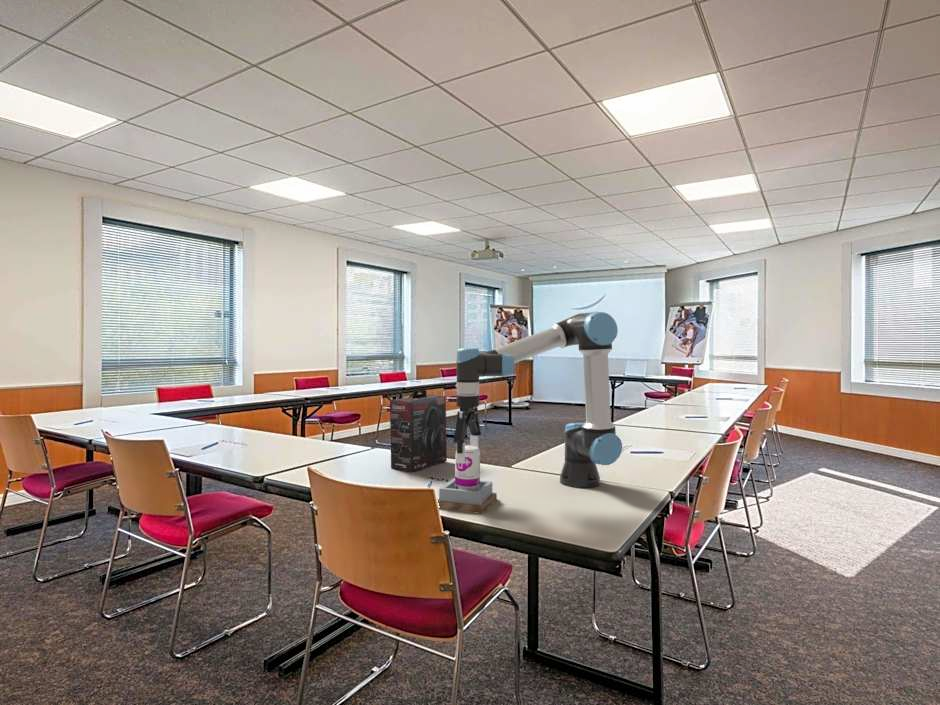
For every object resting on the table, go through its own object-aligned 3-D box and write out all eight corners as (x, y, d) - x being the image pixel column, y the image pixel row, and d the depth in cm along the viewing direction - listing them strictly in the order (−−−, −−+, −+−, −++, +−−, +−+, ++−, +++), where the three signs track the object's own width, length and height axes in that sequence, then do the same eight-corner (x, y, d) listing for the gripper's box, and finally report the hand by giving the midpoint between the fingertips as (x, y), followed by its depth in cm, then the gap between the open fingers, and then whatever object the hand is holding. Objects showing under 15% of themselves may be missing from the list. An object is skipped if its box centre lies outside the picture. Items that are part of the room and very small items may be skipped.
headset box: (411, 472, 216) (411, 392, 215) (388, 468, 223) (388, 390, 222) (447, 462, 236) (447, 388, 235) (425, 458, 243) (426, 387, 242)
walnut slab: (496, 501, 179) (496, 492, 179) (482, 516, 164) (482, 506, 164) (452, 497, 185) (452, 488, 184) (435, 510, 169) (435, 501, 169)
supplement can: (471, 497, 169) (472, 451, 168) (450, 492, 173) (450, 447, 172) (484, 491, 175) (485, 446, 175) (463, 486, 180) (464, 443, 179)
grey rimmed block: (492, 493, 179) (492, 481, 179) (480, 505, 166) (480, 492, 165) (453, 489, 183) (453, 478, 183) (439, 501, 170) (439, 488, 170)
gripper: (469, 391, 187) (469, 450, 187) (443, 398, 163) (443, 466, 164) (489, 391, 184) (489, 452, 185) (466, 398, 161) (466, 467, 161)
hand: (467, 458), depth 174 cm, fingers open, 13 cm apart
